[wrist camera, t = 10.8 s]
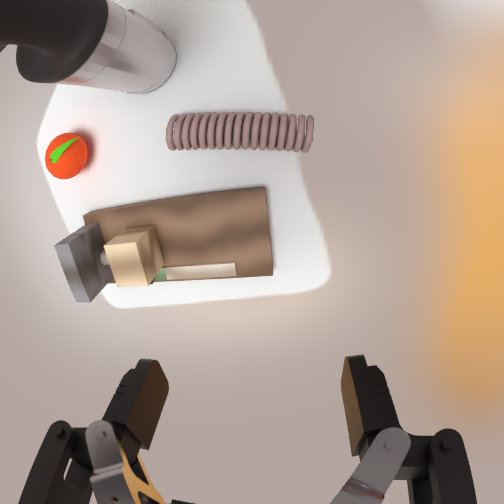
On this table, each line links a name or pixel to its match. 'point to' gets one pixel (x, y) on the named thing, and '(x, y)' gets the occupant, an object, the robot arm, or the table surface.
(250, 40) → the table surface
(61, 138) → the clementine
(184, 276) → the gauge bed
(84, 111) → the table surface
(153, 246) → the block
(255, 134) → the coil
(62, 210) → the table surface
